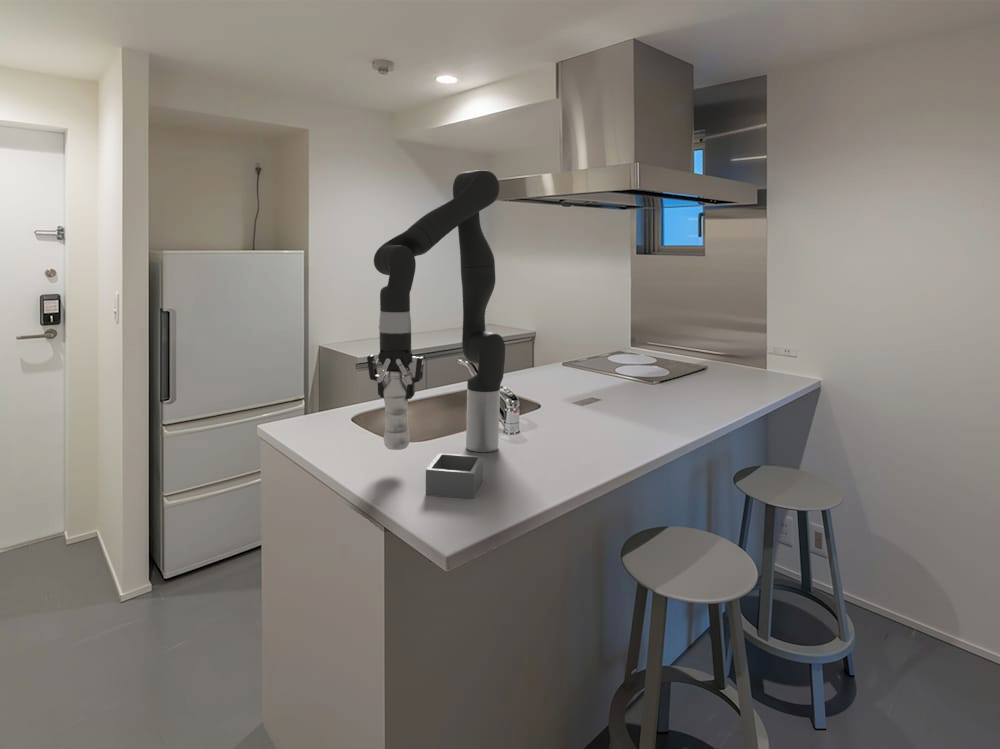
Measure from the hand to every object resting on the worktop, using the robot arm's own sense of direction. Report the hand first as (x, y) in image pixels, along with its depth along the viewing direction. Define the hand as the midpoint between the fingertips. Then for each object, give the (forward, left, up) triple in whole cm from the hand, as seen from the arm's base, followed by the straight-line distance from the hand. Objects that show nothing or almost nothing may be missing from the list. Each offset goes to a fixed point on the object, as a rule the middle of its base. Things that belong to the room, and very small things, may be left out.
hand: (396, 397), depth 146 cm
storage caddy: (+8, +17, -19) cm, 26 cm away
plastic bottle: (0, 0, -13) cm, 13 cm away
